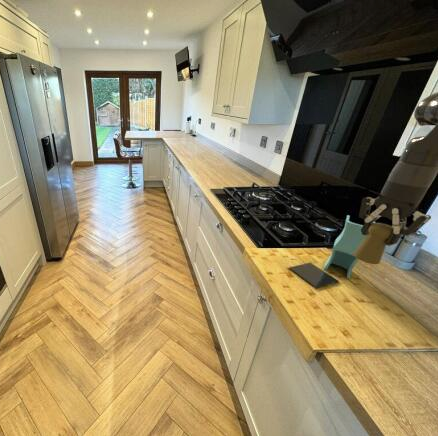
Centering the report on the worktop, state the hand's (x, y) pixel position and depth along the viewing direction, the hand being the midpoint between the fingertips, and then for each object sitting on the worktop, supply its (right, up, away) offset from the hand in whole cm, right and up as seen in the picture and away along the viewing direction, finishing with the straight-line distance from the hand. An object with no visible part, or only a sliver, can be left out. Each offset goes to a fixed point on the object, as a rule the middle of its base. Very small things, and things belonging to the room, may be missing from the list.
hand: (376, 239), depth 66 cm
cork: (0, -6, +3) cm, 7 cm away
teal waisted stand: (+8, -13, +23) cm, 28 cm away
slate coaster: (-5, -15, +19) cm, 24 cm away
